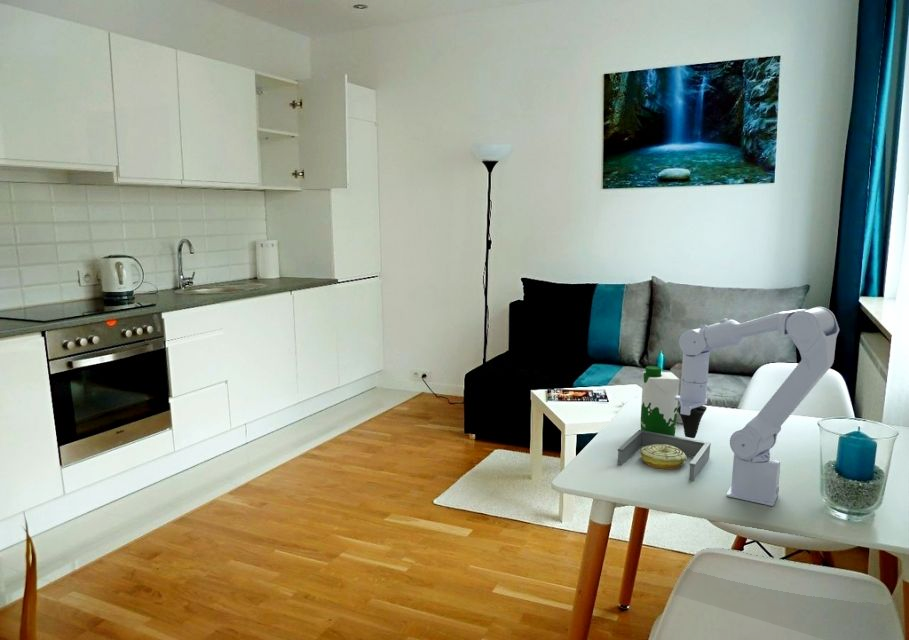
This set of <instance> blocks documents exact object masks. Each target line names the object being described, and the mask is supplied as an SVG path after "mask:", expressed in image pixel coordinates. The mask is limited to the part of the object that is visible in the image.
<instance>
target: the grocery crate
mask: <svg viewBox="0 0 909 640" xmlns="http://www.w3.org/2000/svg"><path fill="white" fill-rule="evenodd" d="M653 444H666V445H671V446H674V447H676V448H678V449H680V450H681V451H683V452H684V453H685V455H686V457H687V456H689V457H692V459H691V461H690V462H689V475H688V476H689V477H688V480H689V481H691V482H694V481H695V480H696V478H697V476H698V475H699V474H700V472H701V471H702V469H703V468H704V466H705V465H706V464H707V462H708V461H709V459H710V456H711V455H710V454H711V453H710V452H711V445H712V442H708V441H703V440H697V439H694V438H688V437H681V436H676V435H675V436H671V435H665V434H660V433H654V432H649V431H643V430H641V429H638V430H637V431H636V432H635V433H634V434H633V435H632V436H630V437H629V438H628V439H627V440H626V441H625V442H623V443H622V445H620V446H619V447H618V448H617V466H620V467H621V466H623V465H624V464H625V463H626V462H628V460H629V459H630V458H631V457H632V456H633V455H634V454H635V453H636V452H637V451H638V450H639V449H640V448H643V447H645V446H649V445H653Z"/></svg>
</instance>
